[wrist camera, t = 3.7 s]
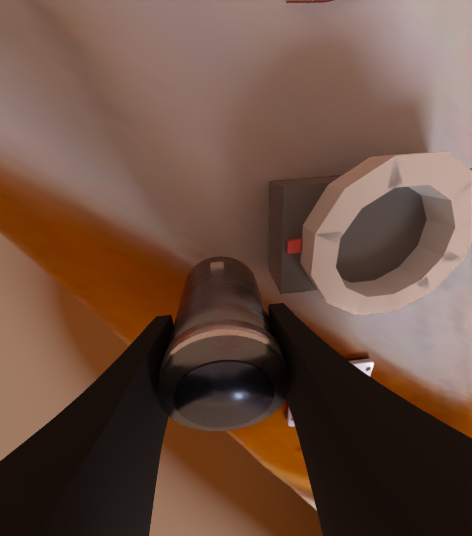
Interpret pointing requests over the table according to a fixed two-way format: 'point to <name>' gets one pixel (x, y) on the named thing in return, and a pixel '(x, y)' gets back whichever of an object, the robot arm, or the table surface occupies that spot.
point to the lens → (222, 352)
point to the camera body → (372, 230)
